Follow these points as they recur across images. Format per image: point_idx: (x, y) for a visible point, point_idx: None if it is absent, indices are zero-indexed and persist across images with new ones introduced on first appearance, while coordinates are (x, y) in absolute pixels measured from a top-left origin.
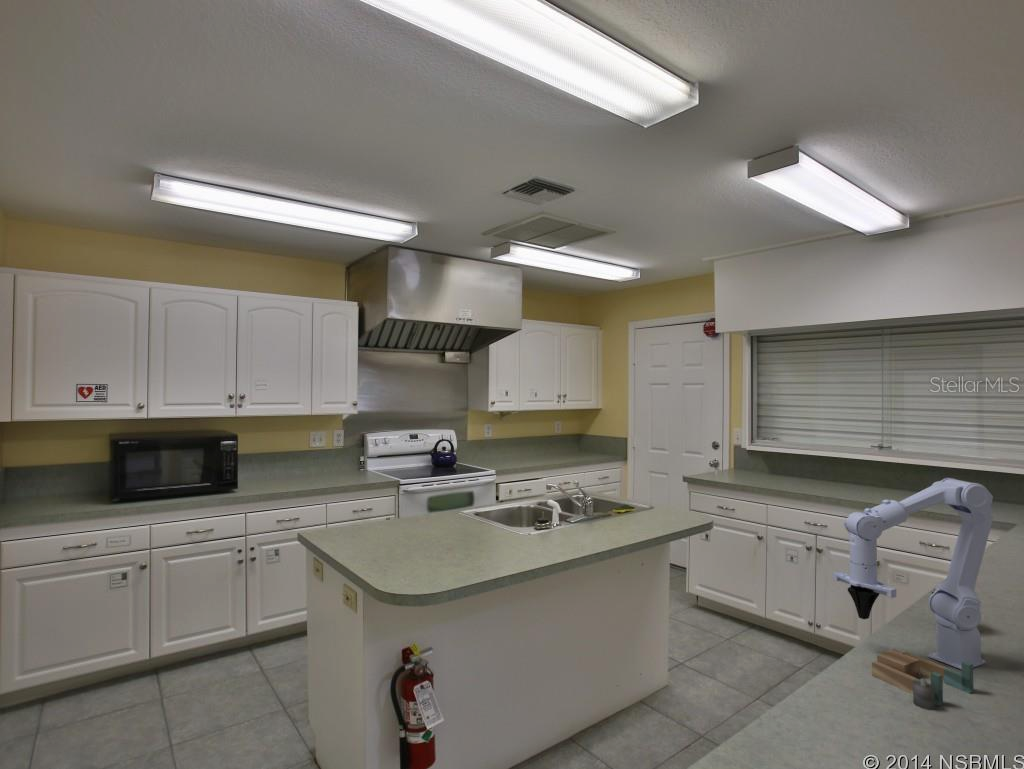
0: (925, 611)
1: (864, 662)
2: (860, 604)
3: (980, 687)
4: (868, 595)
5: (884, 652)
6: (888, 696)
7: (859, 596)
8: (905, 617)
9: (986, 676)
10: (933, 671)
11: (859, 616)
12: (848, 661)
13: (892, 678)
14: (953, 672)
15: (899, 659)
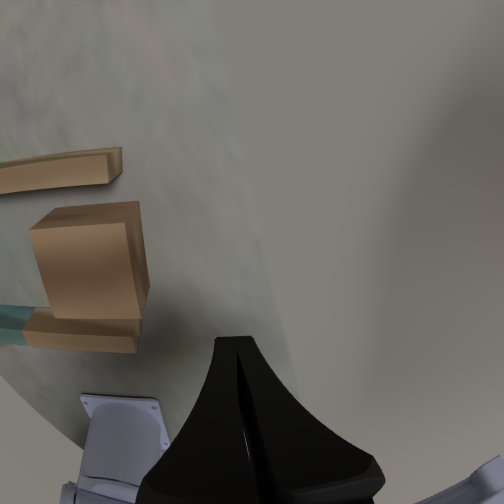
0: None
1: (203, 220)
2: (235, 405)
3: (15, 349)
4: (135, 500)
5: (128, 269)
6: (20, 73)
7: (236, 463)
8: None
9: (58, 401)
10: (50, 320)
11: (244, 339)
12: (236, 172)
13: (44, 157)
14: (5, 331)
15: (68, 262)
